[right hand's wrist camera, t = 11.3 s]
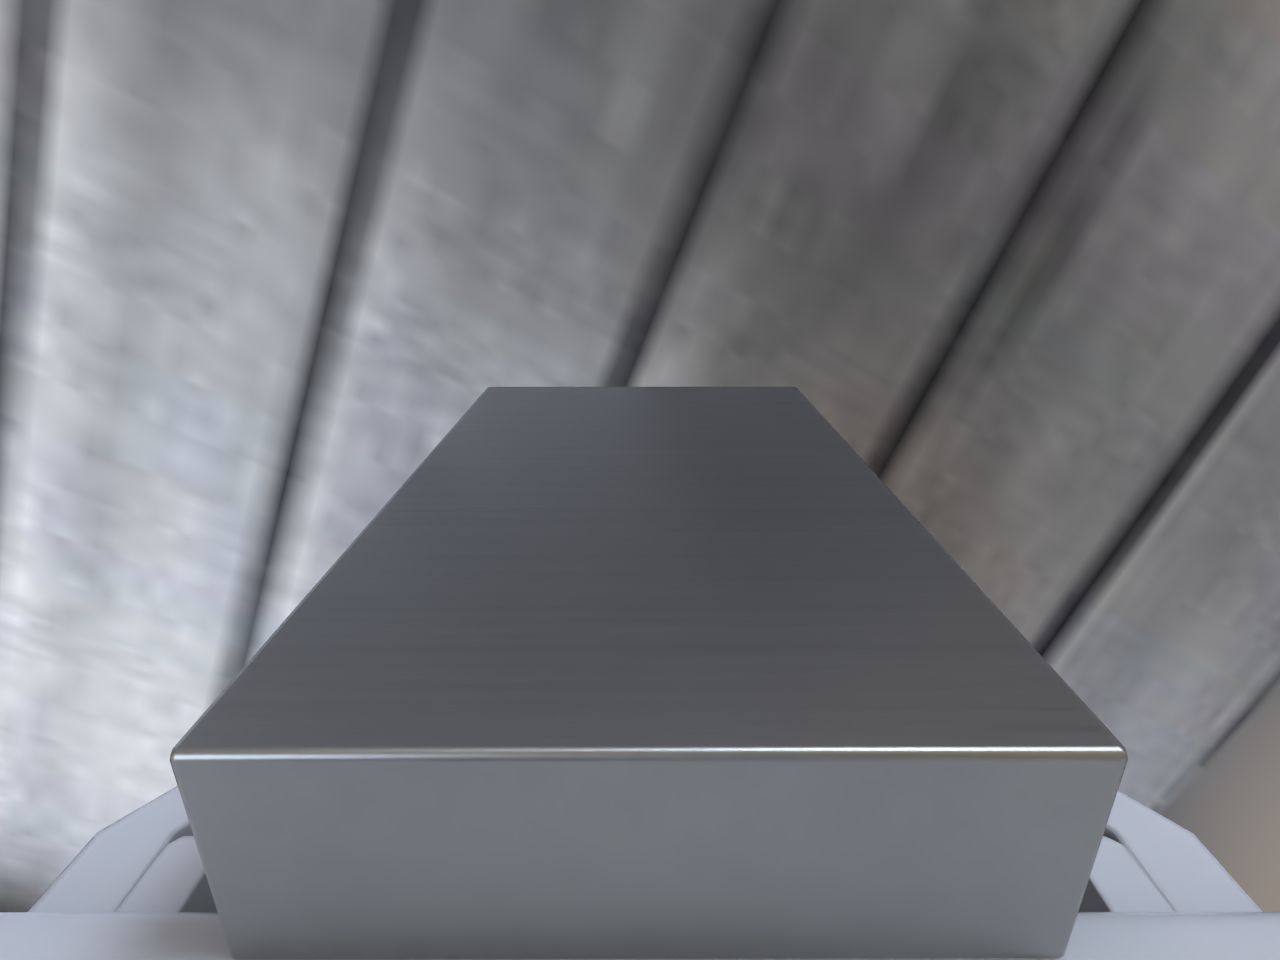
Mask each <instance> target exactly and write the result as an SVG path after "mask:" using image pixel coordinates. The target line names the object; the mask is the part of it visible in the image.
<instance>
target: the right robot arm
mask: <svg viewBox="0 0 1280 960" xmlns="http://www.w3.org/2000/svg"><path fill="white" fill-rule="evenodd" d="M0 960H237V959H235V958H233V957H231V954H230V950H229V947H228V944H227V941H226V938H225V934H224V931H223V928H222V925H221V922H220V919H219V915H218V912H217V909H216V906H215V903H214V899H213V896H212V893H211V890H210V887H209V883H208V880H207V877H206V874H205V871H204V868H203V864H202V861H201V858H200V855H199V852H198V848H197V845H196V842H195V839H194V836H193V833H192V829H191V826H190V823H189V820H188V817H187V813H186V810H185V807H184V804H183V801H182V798H181V794H180V791H179V788H178V786H177V787H175V788H173V789H172V790H170V791H168V792H166V793H165V794H163V795H161V796H160V797H158V798H156V799H154V800H153V801H151V802H149V803H147V804H146V805H144V806H142V807H141V808H139V809H137V810H135V811H134V812H132V813H130V814H128V815H127V816H125V817H123V818H122V819H120V820H118V821H116V822H115V823H113V824H111V825H109V826H108V827H106V828H104V829H103V830H101V831H99V832H97V833H96V834H95V836H94V837H93V838H92V839H91V840H90V841H89V842H88V844H87V845H86V846H85V847H84V848H83V849H82V850H81V852H80V853H79V854H78V855H77V856H76V857H75V858H74V859H73V861H72V862H71V863H70V864H69V865H68V866H67V867H66V869H65V870H64V871H63V872H62V873H61V874H60V875H59V877H58V878H57V879H56V880H55V881H54V882H53V883H52V884H51V886H50V887H49V888H48V889H47V890H46V891H45V892H44V894H43V895H42V896H41V897H40V898H39V899H38V900H37V902H36V903H35V904H34V905H33V906H32V907H31V908H30V909H29V911H28V912H0ZM291 960H1280V912H1262V910H1261V909H1260V908H1259V907H1258V906H1257V905H1256V904H1255V903H1254V901H1253V900H1252V899H1251V898H1250V897H1249V896H1248V895H1247V894H1246V892H1245V891H1244V890H1243V889H1242V888H1241V887H1240V886H1239V885H1238V883H1237V882H1236V881H1235V880H1234V879H1233V878H1232V877H1231V876H1230V874H1229V873H1228V872H1227V871H1226V870H1225V869H1224V868H1223V867H1222V865H1221V864H1220V863H1219V862H1218V861H1217V860H1216V859H1215V858H1214V856H1213V855H1212V854H1211V853H1210V852H1209V851H1208V850H1207V849H1206V847H1205V846H1204V845H1203V844H1202V843H1201V842H1200V841H1199V840H1198V839H1197V837H1196V836H1195V835H1194V834H1193V833H1191V832H1189V831H1187V830H1186V829H1184V828H1182V827H1181V826H1179V825H1177V824H1175V823H1174V822H1172V821H1170V820H1168V819H1167V818H1165V817H1163V816H1162V815H1160V814H1158V813H1156V812H1155V811H1153V810H1151V809H1149V808H1148V807H1146V806H1144V805H1142V804H1141V803H1139V802H1137V801H1135V800H1134V799H1132V798H1130V797H1129V796H1127V795H1125V794H1123V793H1122V792H1120V791H1117V794H1116V797H1115V800H1114V803H1113V807H1112V810H1111V813H1110V816H1109V819H1108V822H1107V825H1106V828H1105V831H1104V834H1103V837H1102V840H1101V843H1100V846H1099V849H1098V853H1097V856H1096V859H1095V862H1094V865H1093V868H1092V871H1091V874H1090V877H1089V880H1088V883H1087V886H1086V889H1085V892H1084V895H1083V899H1082V902H1081V905H1080V908H1079V911H1078V914H1077V917H1076V920H1075V923H1074V926H1073V929H1072V932H1071V935H1070V938H1069V941H1068V944H1067V948H1066V951H1065V954H1064V956H1062V957H1060V958H928V959H291Z"/></svg>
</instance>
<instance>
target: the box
mask: <svg viewBox="0 0 1280 960" xmlns="http://www.w3.org/2000/svg"><path fill="white" fill-rule="evenodd" d="M1127 761H1128V757H1127V752H1126V749H1125V747H1124V746H1123V745H1122V744H1121V743H1120V742H1119V741H1118V740H1117V739H1116V737H1115V736H1114V735H1113V734H1112V733H1111V732H1110V731H1109V730H1108V729H1107V728H1106V726H1105V725H1104V724H1103V723H1102V722H1101V721H1100V720H1099V719H1098V718H1097V717H1096V715H1095V714H1094V713H1093V712H1092V711H1091V710H1090V709H1089V708H1088V707H1087V706H1086V705H1085V703H1084V702H1083V701H1082V700H1081V699H1080V698H1079V697H1078V696H1077V695H1076V694H1075V692H1074V691H1073V690H1072V689H1071V688H1070V687H1069V686H1068V685H1067V684H1066V683H1065V682H1064V680H1063V679H1062V678H1061V677H1060V676H1059V675H1058V674H1057V673H1056V672H1055V671H1054V669H1053V668H1052V667H1051V666H1050V665H1049V664H1048V663H1047V662H1046V661H1045V660H1044V658H1043V657H1042V656H1041V655H1040V654H1039V653H1038V652H1037V651H1036V650H1035V649H1034V648H1033V646H1032V645H1031V644H1030V643H1029V642H1028V641H1027V640H1026V639H1025V638H1024V637H1023V635H1022V634H1021V633H1020V632H1019V631H1018V630H1017V629H1016V628H1015V627H1014V626H1013V624H1012V623H1011V622H1010V621H1009V620H1008V619H1007V618H1006V617H1005V616H1004V615H1003V614H1002V612H1001V611H1000V610H999V609H998V608H997V607H996V606H995V605H994V604H993V603H992V601H991V600H990V599H989V598H988V597H987V596H986V595H985V594H984V593H983V592H982V591H981V589H980V588H979V587H978V586H977V585H976V584H975V583H974V582H973V581H972V580H971V578H970V577H969V576H968V575H967V574H966V573H965V572H964V571H963V570H962V569H961V567H960V566H959V565H958V564H957V563H956V562H955V561H954V560H953V559H952V558H951V557H950V555H949V554H948V553H947V552H946V551H945V550H944V549H943V548H942V547H941V546H940V544H939V543H938V542H937V541H936V540H935V539H934V538H933V537H932V536H931V535H930V533H929V532H928V531H927V530H926V529H925V528H924V527H923V526H922V525H921V524H920V523H919V521H918V520H917V519H916V518H915V517H914V516H913V515H912V514H911V513H910V512H909V510H908V509H907V508H906V507H905V506H904V505H903V504H902V503H901V502H900V501H899V500H898V498H897V497H896V496H895V495H894V494H893V493H892V492H891V491H890V490H889V489H888V487H887V486H886V485H885V484H884V483H883V482H882V481H881V480H880V479H879V478H878V476H877V475H876V474H875V473H874V472H873V471H872V470H871V469H870V468H869V467H868V466H867V464H866V463H865V462H864V461H863V460H862V459H861V458H860V457H859V456H858V455H857V453H856V452H855V451H854V450H853V449H852V448H851V447H850V446H849V445H848V444H847V442H846V441H845V440H844V439H843V438H842V437H841V436H840V435H839V434H838V433H837V432H836V430H835V429H834V428H833V427H832V426H831V425H830V424H829V423H828V422H827V421H826V419H825V418H824V417H823V416H822V415H821V414H820V413H819V412H818V411H817V410H816V409H815V407H814V406H813V405H812V404H811V403H810V402H809V401H808V400H807V399H806V398H805V396H804V395H803V394H802V393H801V392H800V391H799V390H798V389H797V388H796V387H489V388H487V389H486V390H485V391H484V393H483V394H482V395H481V396H480V397H479V398H478V399H477V401H476V402H475V403H474V404H473V405H472V406H471V407H470V409H469V410H468V411H467V412H466V413H465V414H464V415H463V417H462V418H461V419H460V420H459V421H458V422H457V423H456V425H455V426H454V427H453V428H452V429H451V430H450V431H449V433H448V434H447V435H446V436H445V437H444V438H443V440H442V441H441V442H440V443H439V444H438V445H437V446H436V448H435V449H434V450H433V451H432V452H431V453H430V454H429V456H428V457H427V458H426V459H425V460H424V461H423V462H422V464H421V465H420V466H419V467H418V468H417V469H416V470H415V472H414V473H413V474H412V475H411V476H410V477H409V478H408V480H407V481H406V482H405V483H404V484H403V485H402V487H401V488H400V489H399V490H398V491H397V492H396V493H395V495H394V496H393V497H392V498H391V499H390V500H389V501H388V503H387V504H386V505H385V506H384V507H383V508H382V509H381V511H380V512H379V513H378V514H377V515H376V516H375V517H374V519H373V520H372V521H371V522H370V523H369V524H368V526H367V527H366V528H365V529H364V530H363V531H362V532H361V534H360V535H359V536H358V537H357V538H356V539H355V540H354V542H353V543H352V544H351V545H350V546H349V547H348V548H347V550H346V551H345V552H344V553H343V554H342V555H341V556H340V558H339V559H338V560H337V561H336V562H335V563H334V564H333V566H332V567H331V568H330V569H329V570H328V571H327V573H326V574H325V575H324V576H323V577H322V578H321V579H320V581H319V582H318V583H317V584H316V585H315V586H314V587H313V589H312V590H311V591H310V592H309V593H308V594H307V595H306V597H305V598H304V599H303V600H302V601H301V602H300V603H299V605H298V606H297V607H296V608H295V609H294V610H293V611H292V613H291V614H290V615H289V616H288V617H287V618H286V620H285V621H284V622H283V623H282V624H281V625H280V626H279V628H278V629H277V630H276V631H275V632H274V633H273V634H272V636H271V637H270V638H269V639H268V640H267V641H266V642H265V644H264V645H263V646H262V647H261V648H260V649H259V650H258V652H257V653H256V654H255V655H254V656H253V657H252V659H251V660H250V661H249V662H248V663H247V664H246V665H245V667H244V668H243V669H242V670H241V671H240V672H239V673H238V675H237V676H236V677H235V678H234V679H233V680H232V681H231V683H230V684H229V685H228V686H227V687H226V688H225V689H224V691H223V692H222V693H221V694H220V695H219V696H218V697H217V699H216V700H215V701H214V702H213V703H212V704H211V706H210V707H209V708H208V709H207V710H206V711H205V712H204V714H203V715H202V716H201V717H200V718H199V719H198V720H197V722H196V723H195V724H194V725H193V726H192V727H191V728H190V730H189V731H188V732H187V733H186V734H185V735H184V736H183V738H182V739H181V740H180V741H179V742H178V743H177V744H176V746H175V747H174V748H173V750H172V752H171V756H170V762H171V766H172V769H173V772H174V775H175V778H176V782H177V785H178V788H179V791H180V794H181V798H182V801H183V804H184V807H185V810H186V813H187V817H188V820H189V823H190V826H191V829H192V833H193V836H194V839H195V842H196V845H197V848H198V852H199V855H200V858H201V861H202V864H203V868H204V871H205V874H206V877H207V880H208V883H209V887H210V890H211V893H212V896H213V899H214V903H215V906H216V909H217V912H218V915H219V919H220V922H221V925H222V928H223V931H224V934H225V938H226V941H227V944H228V947H229V950H230V954H231V957H233V958H235V959H237V960H291V959H928V958H1060V957H1062V956H1064V954H1065V951H1066V948H1067V944H1068V941H1069V938H1070V935H1071V932H1072V929H1073V926H1074V923H1075V920H1076V917H1077V914H1078V911H1079V908H1080V905H1081V902H1082V899H1083V895H1084V892H1085V889H1086V886H1087V883H1088V880H1089V877H1090V874H1091V871H1092V868H1093V865H1094V862H1095V859H1096V856H1097V853H1098V849H1099V846H1100V843H1101V840H1102V837H1103V834H1104V831H1105V828H1106V825H1107V822H1108V819H1109V816H1110V813H1111V810H1112V807H1113V803H1114V800H1115V797H1116V794H1117V791H1118V788H1119V785H1120V782H1121V779H1122V776H1123V773H1124V770H1125V767H1126V764H1127Z"/></svg>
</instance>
